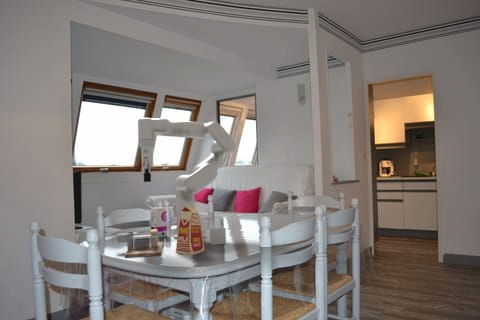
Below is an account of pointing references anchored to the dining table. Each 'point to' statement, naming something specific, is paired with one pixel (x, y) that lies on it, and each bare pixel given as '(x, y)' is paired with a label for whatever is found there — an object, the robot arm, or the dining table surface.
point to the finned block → (141, 243)
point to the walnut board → (145, 251)
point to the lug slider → (154, 240)
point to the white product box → (159, 220)
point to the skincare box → (218, 235)
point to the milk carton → (190, 232)
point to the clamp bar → (133, 237)
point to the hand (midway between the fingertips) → (147, 181)
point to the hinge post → (129, 241)
